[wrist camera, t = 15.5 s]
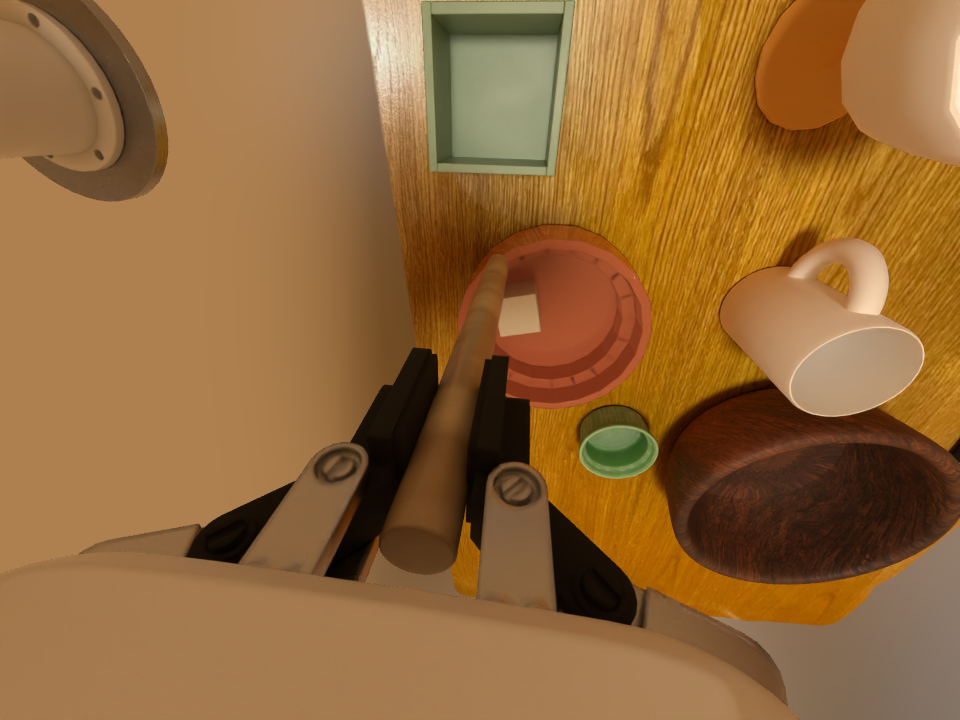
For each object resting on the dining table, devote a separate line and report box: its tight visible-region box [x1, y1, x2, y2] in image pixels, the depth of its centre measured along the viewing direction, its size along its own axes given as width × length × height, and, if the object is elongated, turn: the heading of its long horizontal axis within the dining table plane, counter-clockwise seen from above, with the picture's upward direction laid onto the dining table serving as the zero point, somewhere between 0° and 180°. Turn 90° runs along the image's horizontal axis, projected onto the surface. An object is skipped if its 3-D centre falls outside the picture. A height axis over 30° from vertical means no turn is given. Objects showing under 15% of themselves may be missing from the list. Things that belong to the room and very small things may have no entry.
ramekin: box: [579, 406, 659, 479], centre depth 45 cm, size 9×9×4 cm
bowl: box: [457, 225, 652, 409], centre depth 36 cm, size 18×18×6 cm
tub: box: [421, 0, 575, 176], centre depth 27 cm, size 9×9×7 cm
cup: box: [754, 0, 960, 167], centre depth 19 cm, size 12×12×17 cm
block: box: [498, 279, 541, 337], centre depth 36 cm, size 4×4×4 cm
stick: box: [379, 254, 509, 575], centre depth 17 cm, size 2×2×22 cm
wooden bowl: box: [666, 388, 960, 584], centre depth 41 cm, size 25×25×10 cm
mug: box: [720, 237, 925, 417], centre depth 30 cm, size 8×12×12 cm
